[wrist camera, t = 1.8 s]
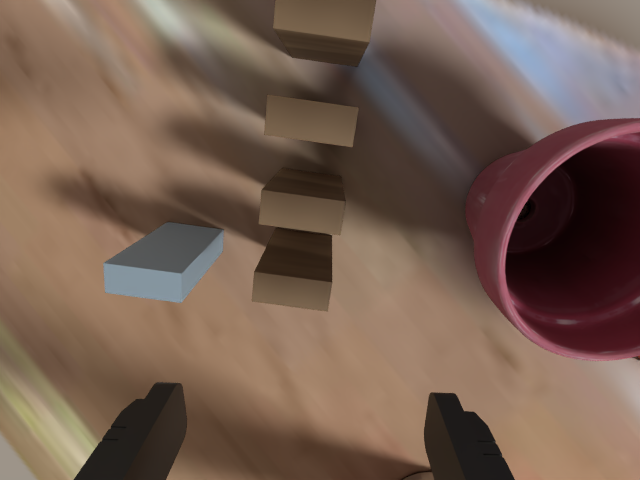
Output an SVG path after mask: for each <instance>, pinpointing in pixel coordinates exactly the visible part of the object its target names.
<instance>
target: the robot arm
mask: <svg viewBox="0 0 640 480" xmlns="http://www.w3.org/2000/svg"><path fill="white" fill-rule="evenodd" d="M186 428H187V416H186V408H185V401H184V393H183V387H182V384H181V383H163V382H157V383H155V384H154V386H153V387H152V389H151V390H150V392H149V393H148V395H147V396H146V398H145V399H136V400H135V401H134V402H132V403H131V404H130V405H129V406H127V407H126V408H125V409H124V410H123V411H121V413H120V414H119V416H118V417H117V418H116V420H115V421H114V423H113V424H112V426H111V429H109V430H108V431H107V433H106V434H105V436H104V437H103V438H102V442H100V443H99V444H98V446H97V447H96V448H95V450H94V451H93V453H92V454H91V456H90V457H89V458H88V460H87V461H86V463H85V464H84V466H83V467H82V468H81V470H80V471H79V473H78V474H77V476H76V477H75V479H74V480H166V478H167V476H168V474H169V472H170V469H171V467H172V465H173V463H174V460H175V458H176V456H177V454H178V452H179V449H180V447H181V445H182V443H183V440H184V437H185V433H186ZM424 442H425V448H426V453H427V456H428V460H429V463H430V467H431V470H432V472H423V473H418V474H414V475H411V476H409V477H406V478H404V479H403V480H515V479H514V477H513V475H512V473H511V471H510V469H509V467H508V465H507V463H506V461H505V459H504V458H503V457H502V453H501V451H500V449H499V447H498V445H497V444H496V443H495V439H494V437H493V435H492V433H491V432H490V430H489V428H488V426H487V425H486V423H485V422H484V421H483V420H482V419H481V418H480V417H479V416H478V415H477V414H476V413H475V412H468V411H464V410H463V408H462V406H461V404H460V401H459V399H458V397H457V395H456V394H454V393H430V395H429V400H428V407H427V413H426V420H425V427H424Z"/></svg>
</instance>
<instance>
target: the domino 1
mask: <svg viewBox="0 0 640 480" xmlns="http://www.w3.org/2000/svg"><path fill="white" fill-rule="evenodd" d="M223 233H224V230H223V229H216V228H209V227H201V226H194V225H187V224H179V223H172V222H167V223H165V224H164V225H162V226H160V227H159V228H157V229H156V230H154V231H153V232H151V233H150V234H148V235H146V236H145V237H143V238H142V239H140V240H139V241H137V242H136V243H134V244H132V245H131V246H129V247H128V248H126V249H125V250H123V251H122V252H120V253H118V254H117V255H115V256H114V257H112V258H111V259H109V260H108V261H106V262H104V263H103V264H104V280H105V293H111V294H119V295H126V296H134V297H141V298H149V299H156V300H164V301H171V302H179V303H181V302H182V301H183V300H184V299H185V298H186V296H187V295H188V294H189V293H190V291H191V290H192V289H193V288H194V286H195V285H196V284H197V283H198V281H199V280H200V279H201V278H202V276H203V275H204V274H205V273H206V271H207V270H208V269H209V268H210V267H211V265H212V264H213V263H214V262H215V260H216V259H217V258H218V257H219V255H220V254H221V253H222V252H223Z"/></svg>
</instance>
